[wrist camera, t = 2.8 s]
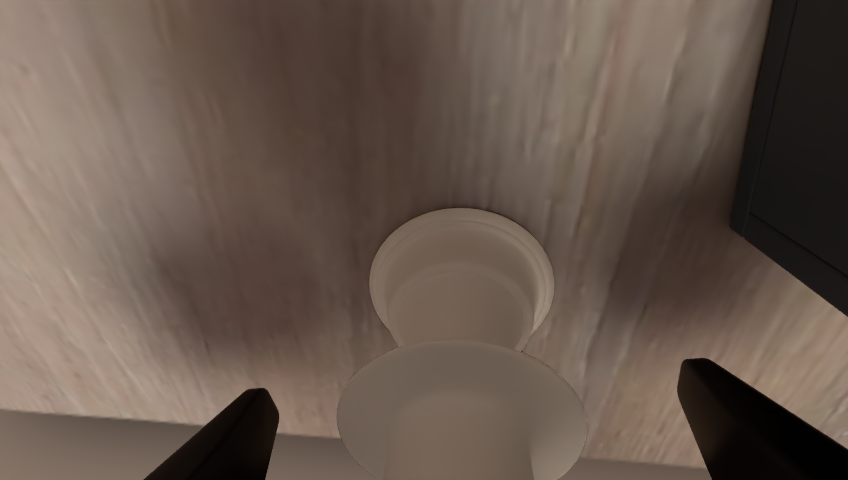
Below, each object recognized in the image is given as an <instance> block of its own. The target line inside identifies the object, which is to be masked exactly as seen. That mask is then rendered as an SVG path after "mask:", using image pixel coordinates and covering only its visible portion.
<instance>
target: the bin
mask: <svg viewBox="0 0 848 480" xmlns="http://www.w3.org/2000/svg"><path fill="white" fill-rule="evenodd" d="M729 227H730V228H731V229H732V230H733V231H735V232H736V233H737V234H739V235H740V236H742V237H744V238H745V240H747V241H748V242H749V243H751V244H752V245H753V246H755V247H756V248H757V249H759V250H760V251H761V252H763V253H764V254H765V255H767V256H768V257H769V258H771V259H772V260H773V261H775V262H776V263H777V264H779V265H780V266H781V267H782V268H784V269H785V270H786V271H788V272H789V273H790V274H792V275H793V276H794V277H796V278H797V279H798V280H800V281H801V282H802V283H804V284H805V285H806V286H808V287H809V288H810V289H812V290H813V291H814V292H816V293H817V294H818V295H820V296H821V297H822V298H823V299H825V300H826V301H827V302H829V303H830V304H831V305H833V306H834V307H835V308H837V309H838V310H839V311H841V312H842V313H843V314H845V315H846V316H847V317H848V0H775V4H774V9H773V14H772V18H771V23H770V28H769V33H768V38H767V43H766V48H765V53H764V57H763V62H762V67H761V72H760V77H759V82H758V87H757V92H756V97H755V101H754V106H753V111H752V116H751V121H750V126H749V131H748V136H747V140H746V145H745V150H744V155H743V160H742V165H741V170H740V175H739V180H738V184H737V189H736V194H735V199H734V204H733V209H732V214H731V219H730V223H729Z"/></svg>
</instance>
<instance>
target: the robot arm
mask: <svg viewBox="0 0 848 480" xmlns="http://www.w3.org/2000/svg"><path fill="white" fill-rule="evenodd" d="M677 393H678V397H679V400H680V403H681V405H682V408H683V410H684V413H685V415H686V418H687V420H688V423H689V425H690V427H691V430H692V432H693V435H694V437H695V440H696V442H697V444H698V447H699V449H700V452H701V454H702V457H703V459H704V462H705V464H706V466H707V469H708V471H709V473H710V476H711V478H712V480H848V449H847V448H845V447H844V446H842V445H840V444H839V443H837V442H836V441H834V440H833V439H831V438H830V437H828V436H827V435H825V434H824V433H822V432H820V431H819V430H817V429H816V428H814V427H813V426H811V425H810V424H808V423H807V422H805V421H804V420H802V419H801V418H799V417H797V416H796V415H794V414H793V413H791V412H790V411H788V410H787V409H785V408H784V407H782V406H781V405H779V404H777V403H776V402H774V401H773V400H771V399H770V398H768V397H767V396H765V395H764V394H762V393H761V392H759V391H757V390H756V389H754V388H753V387H751V386H750V385H748V384H747V383H745V382H744V381H742V380H741V379H739V378H738V377H736V376H734V375H733V374H731V373H730V372H728V371H727V370H725V369H724V368H722V367H721V366H719V365H718V364H716V363H714V362H713V361H711V360H709V359H707V358H695V359H685V360H684V361H683V362H682V364H681V369H680V375H679V380H678V386H677ZM278 424H279V412H278V409H277V407H276V405H275V403H274V402H273V400H272V398H271V396H270V394H269V392H268V391H267V390H266V389H265V388H255V389H248V390H246V391H245V392H243V393H242V394H241V395H240V396H239V397H238V398H236V399H235V400H234V401H233V402H232V403H231V404H230V405H228V406H227V407H226V408H225V409H224V410H223V411H222V412H220V413H219V414H218V415H217V416H216V417H215V418H214V419H212V420H211V421H210V422H209V423H208V424H207V425H205V426H204V427H203V428H202V429H201V430H200V431H199V432H198V433H197V434H195V435H194V436H193V437H192V438H191V439H190V440H189V441H187V442H186V443H185V444H184V445H183V446H181V447H180V448H179V449H178V450H177V451H176V452H175V453H173V454H172V455H171V456H170V457H169V458H168V459H167V460H165V461H164V462H163V463H162V464H161V465H160V466H158V467H157V468H156V469H155V470H154V471H153V472H152V473H150V474H149V475H148V476H147V477H146V478H145V479H144V480H265V478H266V473H267V469H268V465H269V461H270V457H271V452H272V449H273V444H274V440H275V436H276V432H277V428H278Z"/></svg>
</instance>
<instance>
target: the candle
mask: <svg viewBox="0 0 848 480" xmlns="http://www.w3.org/2000/svg"><path fill="white" fill-rule="evenodd" d="M369 287H370V295H371V299H372V303H373V305H374V308H375V310H376V312H377V314H378V316H379V318H380V319H381V321H382V322H383V323H384V325H385V326H386V327H387V328H388V329H389V330H390V332H391V334H392V337H393V339H394V340H395V342H396V344H397V345H398V346H399V348H397V349H394V350H392V351H389V352H387V353H385V354H383V355H381V356H379V357H377V358H375V359H374V360H372V361H370V362H369V363H368V364H366V365H365V366H364V367H362V368H361V369H360V370H359V371H358V372H357V373H356V374H355V375H354V376H353V377H352V378H351V379H350V381H349V382H348V383H347V385H346V387H345V388H344V390H343V392H342V394H341V397H340V399H339V403H338V408H337V425H338V430H339V433H340V436H341V439H342V441H343V443H344V445H345V447H346V448H347V450H348V451H349V453H350V454H351V455H352V457H353V458H354V459H355V460H356V461H357V462H358V464H360V465H361V466H362V467H363V468H364V469H365V470H366V471H367V472H369V473H370V474H371V475H373V476H374V477H376V478H377V479H379V480H558V479H559V478H561V477H562V476H563V475H564V474H565V473H567V472H568V471H569V470H570V468H571V467H572V466H573V465H574V464H575V462H576V461H577V460H578V458H579V456H580V455H581V453H582V450H583V448H584V445H585V442H586V438H587V419H586V414H585V411H584V408H583V405H582V403H581V401H580V399H579V397H578V396H577V394H576V393H575V391H574V390H573V388H572V387H571V386H570V385H569V384H568V383H567V382H566V381H565V380H564V379H563V378H562V377H561V376H560V375H559V374H558V373H557V372H555V371H554V370H553V369H551V368H550V367H549V366H547V365H546V364H544V363H542V362H541V361H539V360H537V359H535V358H533V357H531V356H529V355H527V354H525V353H522V352H521V351H522V350H523V348H524V347H525V346H526V344H527V342H528V340H529V338H530V336H531V335H532V334H533V333H534V332H535V331H536V330H537V329H538V328H539V326H540V325H541V324H542V322H543V321H544V319H545V318H546V316H547V314H548V312H549V309H550V307H551V304H552V300H553V295H554V275H553V270H552V266H551V263H550V261H549V259H548V256H547V254H546V253H545V251H544V249H543V248H542V246H541V245H540V244H539V242H538V241H537V240H536V239H535V238H534V237H533V236H532V235H531V234H530V233H529V232H528V231H527V230H525V229H524V228H523V227H521V226H520V225H518V224H517V223H515V222H513V221H512V220H510V219H508V218H505V217H503V216H501V215H498V214H495V213H492V212H488V211H484V210H479V209H472V208H449V209H442V210H437V211H432V212H429V213H426V214H423V215H420V216H418V217H416V218H414V219H412V220H410V221H408V222H406V223H405V224H403V225H402V226H400V227H399V228H398V229H396V230H395V231H394V232H393V233H392V234H391V235H390V236H389V237H388V238H387V239H386V240H385V241H384V243H383V244H382V245H381V247H380V248H379V250H378V252H377V254H376V256H375V258H374V260H373V263H372V266H371V271H370V278H369Z"/></svg>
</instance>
